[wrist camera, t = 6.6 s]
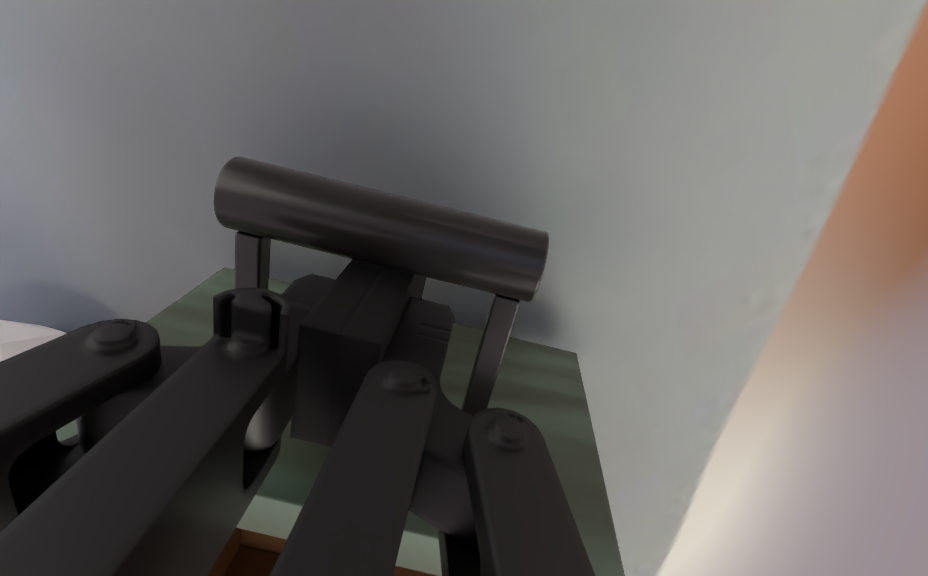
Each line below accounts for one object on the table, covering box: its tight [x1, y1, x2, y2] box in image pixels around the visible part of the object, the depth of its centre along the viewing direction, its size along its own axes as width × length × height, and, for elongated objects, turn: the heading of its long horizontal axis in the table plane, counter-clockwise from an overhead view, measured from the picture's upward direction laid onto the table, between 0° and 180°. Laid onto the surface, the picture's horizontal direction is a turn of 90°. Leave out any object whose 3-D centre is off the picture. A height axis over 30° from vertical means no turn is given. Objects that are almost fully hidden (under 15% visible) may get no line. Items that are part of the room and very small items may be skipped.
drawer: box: [56, 157, 625, 576], centre depth 16 cm, size 20×13×9 cm, turn 167°
